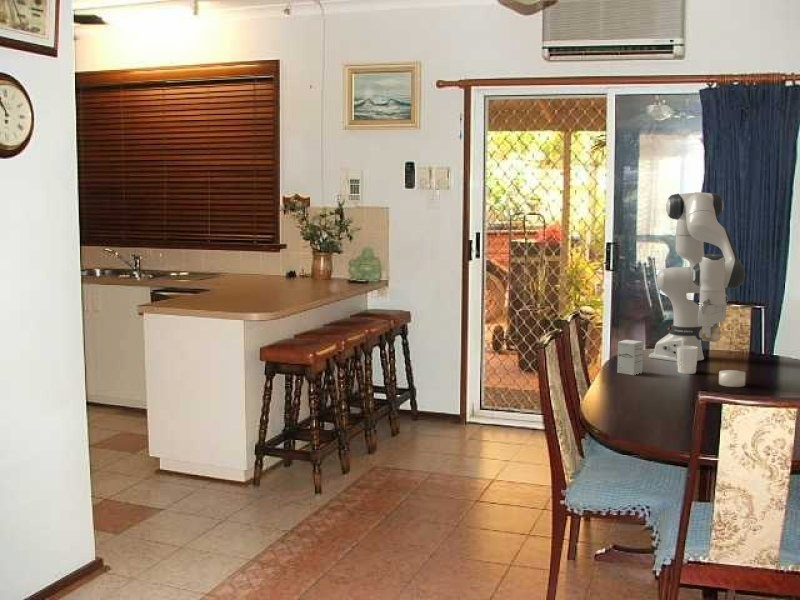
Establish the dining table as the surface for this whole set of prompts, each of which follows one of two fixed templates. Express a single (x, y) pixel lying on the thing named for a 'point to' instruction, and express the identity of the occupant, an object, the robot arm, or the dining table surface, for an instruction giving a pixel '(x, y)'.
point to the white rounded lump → (732, 378)
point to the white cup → (687, 359)
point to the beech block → (715, 334)
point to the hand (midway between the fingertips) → (711, 336)
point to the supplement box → (630, 357)
